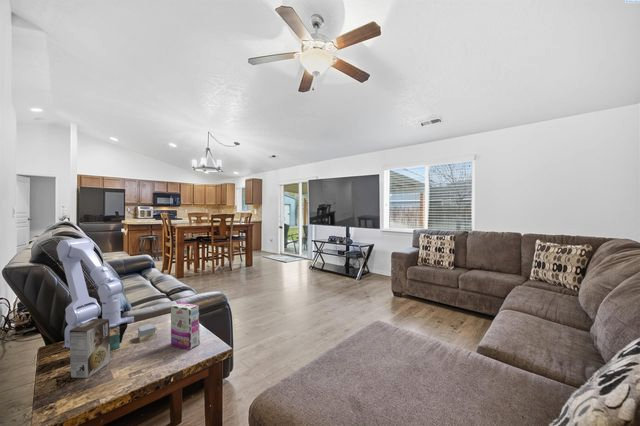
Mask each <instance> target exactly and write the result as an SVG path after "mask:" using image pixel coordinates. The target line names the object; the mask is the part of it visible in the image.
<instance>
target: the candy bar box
mask: <svg viewBox="0 0 640 426" xmlns="http://www.w3.org/2000/svg"><path fill="white" fill-rule="evenodd" d="M170 340H171V341H170V344H171V346H173V347H174V346H175V347H178V348H183V349H186V350H193V349H194V348H195V347H197V346H200V305H198V304H194V303H193V304H192V303H188V302H187V303H186V302H182V301H180V302H177V303H173V304H171V305H170Z"/></svg>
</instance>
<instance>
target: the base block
mask: <svg viewBox="0 0 640 426" xmlns="http://www.w3.org/2000/svg"><path fill="white" fill-rule="evenodd" d="M157 337H158V335H157V332H156V333H154V334H150V335H146V336H143V337H140V335H139V333H138V332H137V338H138V341H139V342H140V343H144V342H146V341H149V340H154V339H157Z"/></svg>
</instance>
